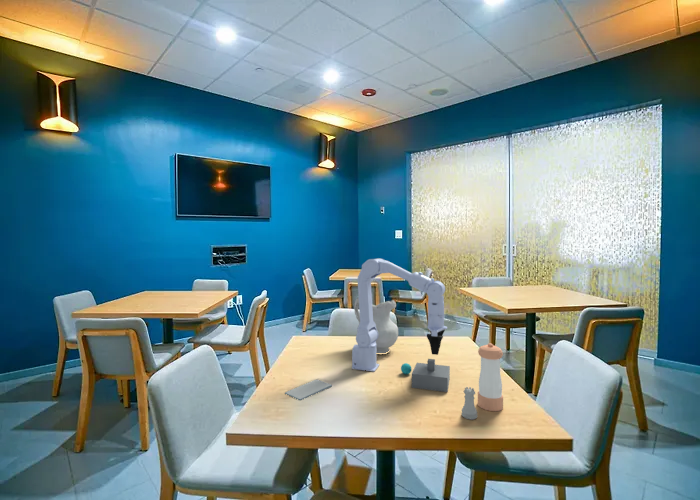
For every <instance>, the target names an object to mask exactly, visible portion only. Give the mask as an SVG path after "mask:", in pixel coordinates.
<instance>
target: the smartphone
mask: <svg viewBox="0 0 700 500" xmlns="http://www.w3.org/2000/svg"><path fill="white" fill-rule="evenodd" d="M330 388H332V384H331V383H328V382H325V381H322V380H319V378H317V379H313V380H311V381H308V382H306V383H304V384H301V385H299V386H296V387H295V388H292V389H290V390H288V391H285V392H284V394H285V395H286V394H287V395H286V396H288V395H289V397H290V396H291V398H293V397H294V398H293V399H295V398H296V399H295V400H297V399H298V400H297V401H302V399H303V400H304V398H305V399H307V398H309V396H310V397H312V396H314V395H316V393H317V394H319V393H321V392H324V391H326V390H327V389H330ZM325 389H326V390H325ZM318 392H319V393H318ZM311 395H312V396H311Z"/></svg>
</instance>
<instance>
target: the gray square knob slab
mask: <svg viewBox="0 0 700 500" xmlns="http://www.w3.org/2000/svg"><path fill="white" fill-rule="evenodd" d="M426 362H427V363H426ZM426 362H425V363H424V362H416V364H415V366H414V367H413V370H412V371H411V388H412V389H413V388H414V389H421V390H426V391H427V390H428V391H435V392H442V393H443V392H444V393H449V385H450V380H451V379H450V378H451V377H450V375H451V373H450V372H451V370H450V369H451V367H450V365H442V364H436V359H434V358H427V361H426Z"/></svg>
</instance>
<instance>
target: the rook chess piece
mask: <svg viewBox="0 0 700 500" xmlns="http://www.w3.org/2000/svg"><path fill="white" fill-rule="evenodd" d="M463 393H464V405H463V406H462V408H461V413H460V414H461V416H462V417H463V418H464V419H465V420H475V419H477V418H478V411H477V408H476V407H475V406H476V405H475V395H476V391H475V389H474V388H473V387H470V386H469V387H468V386H466V387H464V390H463Z"/></svg>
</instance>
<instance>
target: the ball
mask: <svg viewBox="0 0 700 500" xmlns="http://www.w3.org/2000/svg"><path fill="white" fill-rule="evenodd" d="M412 369H413V368H412V366H411V365H410V363H407V362H406V363H402V365H401V366H400V371H401V372H402V374H404V375H409V374H411V373H412V371H413V370H412Z"/></svg>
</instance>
